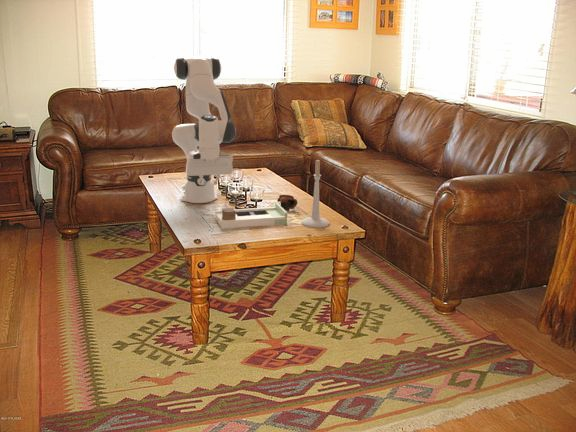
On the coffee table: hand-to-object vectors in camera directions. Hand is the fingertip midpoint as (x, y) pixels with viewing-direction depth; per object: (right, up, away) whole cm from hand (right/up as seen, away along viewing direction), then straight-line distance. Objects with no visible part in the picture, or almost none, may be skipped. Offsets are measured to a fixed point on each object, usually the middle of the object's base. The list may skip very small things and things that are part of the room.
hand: (209, 184), depth 271 cm
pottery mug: (+34, -11, +34) cm, 49 cm away
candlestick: (+47, -17, +14) cm, 52 cm away
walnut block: (+8, -15, +7) cm, 19 cm away
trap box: (+17, -16, +14) cm, 27 cm away
